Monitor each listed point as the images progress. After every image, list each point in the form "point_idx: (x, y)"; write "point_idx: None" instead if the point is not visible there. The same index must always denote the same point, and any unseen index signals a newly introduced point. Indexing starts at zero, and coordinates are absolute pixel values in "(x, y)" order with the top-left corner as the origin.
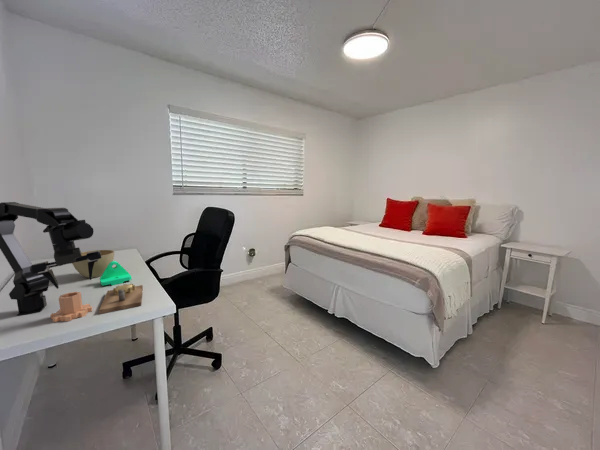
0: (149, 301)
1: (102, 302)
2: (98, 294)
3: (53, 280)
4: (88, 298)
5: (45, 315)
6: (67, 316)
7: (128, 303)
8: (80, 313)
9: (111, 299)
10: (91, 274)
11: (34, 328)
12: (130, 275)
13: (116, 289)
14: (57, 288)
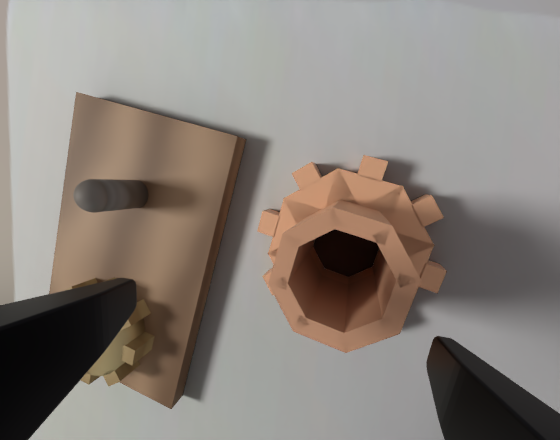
0: (62, 126)
1: (210, 244)
2: (216, 432)
3: (552, 434)
4: (259, 416)
5: None
6: (375, 168)
7: (120, 119)
8: (316, 169)
9: (172, 252)
10: (56, 295)
11: (525, 191)
12: None
13: (123, 329)
14: (443, 339)
